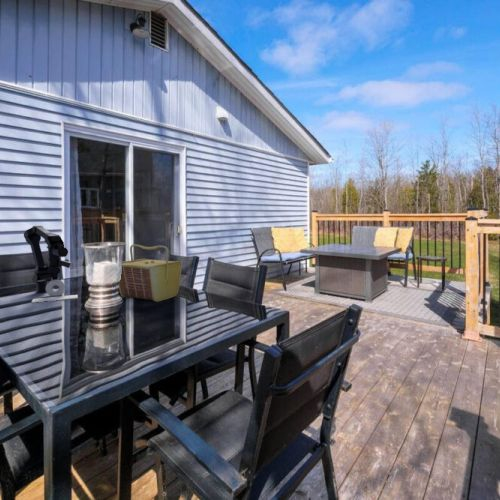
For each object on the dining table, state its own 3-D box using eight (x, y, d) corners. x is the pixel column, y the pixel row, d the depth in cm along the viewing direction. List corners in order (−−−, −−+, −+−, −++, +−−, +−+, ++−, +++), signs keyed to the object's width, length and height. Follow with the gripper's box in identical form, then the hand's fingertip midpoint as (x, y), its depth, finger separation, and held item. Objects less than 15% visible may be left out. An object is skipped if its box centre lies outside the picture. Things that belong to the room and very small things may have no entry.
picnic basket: (114, 298, 190) (111, 245, 187) (147, 290, 213) (146, 242, 210) (152, 305, 177) (151, 247, 174) (184, 295, 199) (183, 244, 196)
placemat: (33, 299, 188) (33, 298, 188) (77, 295, 198) (77, 294, 198) (31, 303, 181) (31, 302, 181) (77, 298, 191) (77, 297, 191)
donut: (65, 295, 199) (65, 278, 198) (66, 296, 196) (65, 279, 195) (46, 297, 194) (45, 279, 194) (45, 298, 191) (44, 280, 190)
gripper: (69, 256, 192) (71, 283, 194) (69, 253, 209) (71, 278, 210) (47, 258, 187) (48, 285, 189) (48, 254, 204) (50, 280, 205)
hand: (55, 282), depth 198 cm, fingers closed
